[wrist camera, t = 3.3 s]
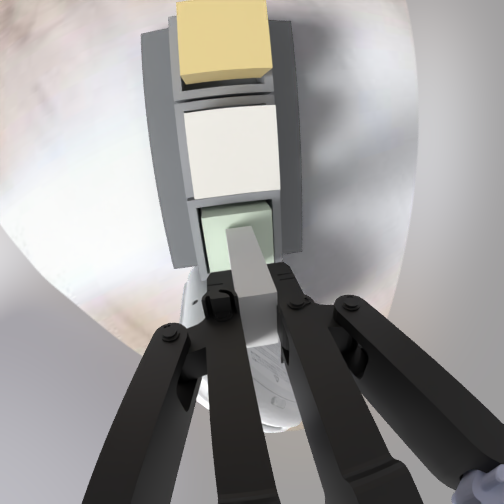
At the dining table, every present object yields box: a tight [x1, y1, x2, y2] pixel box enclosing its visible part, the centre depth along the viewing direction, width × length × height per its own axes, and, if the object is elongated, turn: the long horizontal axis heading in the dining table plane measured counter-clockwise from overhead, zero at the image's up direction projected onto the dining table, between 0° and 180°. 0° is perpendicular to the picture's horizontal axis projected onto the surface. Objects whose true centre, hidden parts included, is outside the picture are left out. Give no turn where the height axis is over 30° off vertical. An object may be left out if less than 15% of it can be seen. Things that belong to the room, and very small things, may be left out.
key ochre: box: [176, 0, 273, 85], centre depth 10 cm, size 4×4×3 cm
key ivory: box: [184, 105, 280, 200], centre depth 13 cm, size 4×4×3 cm
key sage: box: [201, 200, 274, 273], centre depth 18 cm, size 4×4×3 cm
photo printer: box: [179, 266, 302, 433], centre depth 19 cm, size 10×4×12 cm, turn 38°
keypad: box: [141, 16, 302, 281], centre depth 16 cm, size 18×10×4 cm, turn 4°
